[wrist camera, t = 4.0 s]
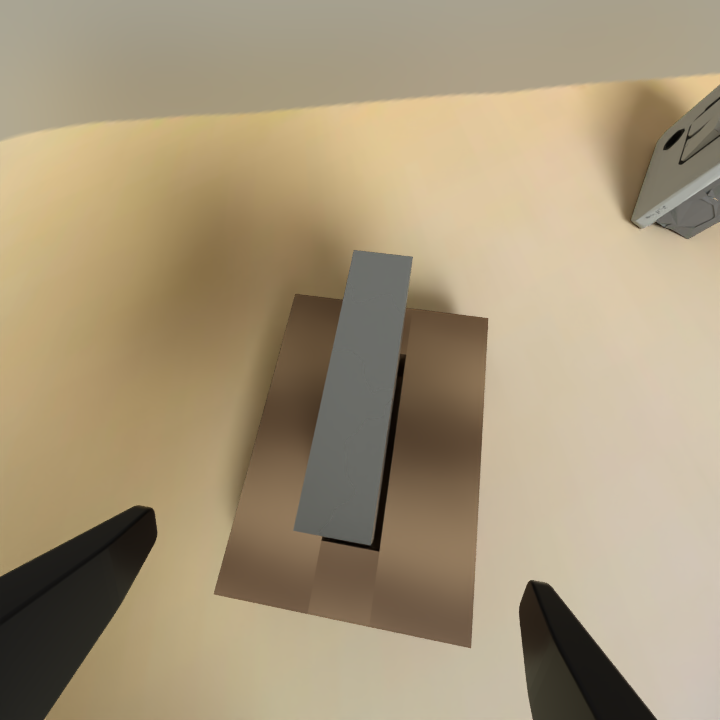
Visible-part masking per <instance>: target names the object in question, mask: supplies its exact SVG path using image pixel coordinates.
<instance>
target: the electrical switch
mask: <svg viewBox="0 0 720 720" xmlns="http://www.w3.org/2000/svg"><path fill="white" fill-rule="evenodd" d="M713 198H716V199H717V200H718V201H717V200H715V199H713ZM631 221H632V222H633V223H634V224H636V225H637V226H638V227H640V229H642V228H645V227H647V226H649V225H652V224H653V223H655V222H657V223H659V224H660V225H662V226H663V227H665V228H668V229H671V230H673V231H675V232H677V233H678V234H680V235H682V236H683V237H685V238H686V239H689V238H691V237H693V236H695V235H696V234H698V233H700V232H702V231H704V230H705V229H707V228H709V227H711V226H712V225H714V224H716V223H718V222H720V85H719V86H718V87H717V88H715V89H714V90H713V91H712V92H711V93H710V94H708V95H707V96H706V97H705V98H704V99H703V100H701V101H700V102H699V103H698V104H697V105H696V106H695V107H693V108H692V109H691V110H690V111H689V112H688V113H686V114H685V115H684V116H683V117H682V118H681V119H680V120H678V121H677V122H676V123H675V124H674V125H673V126H672V127H670V128H669V129H668V130H667V131H666V132H665V133H664V134H663V135H662V137H661V138H660V139H659V140H658V141H657V144H656V147H655V150H654V152H653V155H652V158H651V161H650V164H649V167H648V170H647V173H646V176H645V179H644V182H643V185H642V188H641V191H640V194H639V197H638V200H637V203H636V206H635V209H634V212H633V215H632V218H631Z"/></svg>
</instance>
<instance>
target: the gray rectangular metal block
mask: <svg viewBox="0 0 720 720" xmlns="http://www.w3.org/2000/svg"><path fill="white" fill-rule="evenodd" d="M412 258H413V257H410V256H401V255H392V254H383V253H374V252H366V251H357V250H354V252H353V257H352V261H351V266H350V270H349V275H348V280H347V284H346V289H345V293H344V298H343V303H342V307H341V312H340V317H339V321H338V326H337V330H336V335H335V340H334V344H333V349H332V353H331V358H330V363H329V367H328V372H327V377H326V381H325V386H324V390H323V395H322V400H321V404H320V409H319V413H318V418H317V423H316V427H315V432H314V437H313V441H312V446H311V450H310V455H309V460H308V464H307V469H306V473H305V478H304V483H303V487H302V492H301V497H300V501H299V506H298V510H297V515H296V520H295V524H294V529H293V531H297V532H302V533H307V534H313V535H318V536H323V537H329V538H334V539H339V540H345V541H350V542H355V543H360V544H366V545H371V544H372V542H373V540H374V536H375V529H376V522H377V515H378V508H379V501H380V494H381V487H382V480H383V473H384V466H385V459H386V452H387V445H388V438H389V431H390V424H391V417H392V410H393V403H394V396H395V389H396V382H397V374H398V367H399V359H400V351H401V344H402V336H403V328H404V320H405V313H406V305H407V297H408V289H409V282H410V274H411V266H412Z"/></svg>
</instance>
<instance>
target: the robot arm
mask: <svg viewBox="0 0 720 720" xmlns="http://www.w3.org/2000/svg"><path fill="white" fill-rule="evenodd" d="M156 538H157V526H156V519H155V512H154V510H153V508H151V507H145V506H140V505H137V506H134V507H132V508H130V509H128V510H126V511H124V512H122V513H120V514H118V515H116V516H114V517H113V518H111V519H109V520H107V521H105V522H103V523H101V524H99V525H97V526H96V527H94V528H92V529H90V530H88V531H86V532H84V533H82V534H80V535H78V536H77V537H75V538H73V539H71V540H69V541H67V542H65V543H63V544H61V545H59V546H58V547H56V548H54V549H52V550H50V551H48V552H46V553H44V554H42V555H40V556H39V557H37V558H35V559H33V560H31V561H29V562H27V563H25V564H23V565H22V566H20V567H18V568H16V569H14V570H12V571H10V572H8V573H6V574H4V575H3V576H1V577H0V720H44V719H45V717H46V716H47V714H48V713H49V711H50V710H51V708H52V707H53V705H54V704H55V702H56V701H57V699H58V698H59V696H60V695H61V693H62V692H63V690H64V689H65V687H66V686H67V684H68V683H69V681H70V680H71V678H72V677H73V675H74V674H75V672H76V671H77V669H78V668H79V666H80V665H81V663H82V662H83V661H84V659H85V658H86V656H87V655H88V653H89V652H90V650H91V649H92V647H93V646H94V644H95V643H96V641H97V640H98V638H99V637H100V635H101V634H102V632H103V631H104V629H105V628H106V626H107V625H108V623H109V622H110V620H111V619H112V617H113V616H114V614H115V613H116V611H117V610H118V608H119V606H120V605H121V603H122V601H123V600H124V598H125V596H126V595H127V593H128V591H129V589H130V587H131V585H132V584H133V582H134V580H135V578H136V576H137V574H138V573H139V571H140V569H141V567H142V565H143V563H144V562H145V560H146V558H147V556H148V554H149V553H150V551H151V549H152V547H153V545H154V543H155V541H156ZM519 618H520V627H521V637H522V646H523V655H524V664H525V673H526V682H527V690H528V697H529V702H530V708H531V712H532V717H533V720H657V719H656V717H655V716H654V715H653V714H652V712H651V711H650V710H649V709H648V707H647V706H646V705H645V704H644V702H643V701H642V700H641V699H640V697H639V696H638V695H637V694H636V692H635V691H634V690H633V688H632V687H631V686H630V685H629V683H628V682H627V681H626V680H625V678H624V677H623V676H622V675H621V673H620V672H619V671H618V670H617V668H616V667H615V666H614V665H613V663H612V662H611V661H610V660H609V658H608V657H607V656H606V654H605V653H604V652H603V651H602V649H601V648H600V647H599V646H598V644H597V643H596V642H595V641H594V639H593V638H592V637H591V636H590V634H589V633H588V632H587V631H586V629H585V628H584V627H583V626H582V624H581V623H580V622H579V620H578V619H577V618H576V617H575V615H574V614H573V613H572V612H571V610H570V609H569V608H568V607H567V605H566V604H565V603H564V602H563V600H562V599H561V598H560V597H559V595H558V594H557V593H556V592H555V590H554V589H553V588H552V587H551V586H550V585H549V584H548V583H545V582H540V581H534V580H530V581H529V582H528V584H527V586H526V589H525V591H524V594H523V597H522V600H521V603H520V607H519Z"/></svg>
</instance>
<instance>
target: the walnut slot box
mask: <svg viewBox="0 0 720 720" xmlns="http://www.w3.org/2000/svg"><path fill="white" fill-rule="evenodd" d="M342 303H343V300H340V299H332V298H324V297H316V296H308V295H300V294H295V297H294V301H293V305H292V308H291V312H290V316H289V319H288V323H287V327H286V330H285V334H284V338H283V341H282V345H281V349H280V352H279V356H278V360H277V364H276V367H275V371H274V375H273V378H272V382H271V386H270V389H269V393H268V397H267V400H266V404H265V408H264V411H263V415H262V419H261V422H260V426H259V430H258V433H257V437H256V441H255V444H254V448H253V452H252V455H251V459H250V463H249V466H248V470H247V474H246V477H245V481H244V485H243V488H242V492H241V496H240V499H239V503H238V507H237V510H236V514H235V518H234V521H233V525H232V529H231V533H230V536H229V540H228V544H227V547H226V551H225V555H224V558H223V562H222V566H221V569H220V573H219V577H218V580H217V584H216V588H215V591H214V594H215V595H220V596H225V597H229V598H234V599H239V600H244V601H249V602H253V603H258V604H263V605H268V606H272V607H277V608H282V609H287V610H291V611H296V612H301V613H306V614H310V615H315V616H320V617H325V618H330V619H334V620H339V621H344V622H349V623H353V624H358V625H363V626H368V627H372V628H377V629H382V630H387V631H392V632H396V633H401V634H406V635H411V636H415V637H420V638H425V639H430V640H434V641H439V642H444V643H449V644H453V645H458V646H463V647H468V648H471V638H472V619H473V600H474V581H475V562H476V543H477V523H478V504H479V485H480V466H481V447H482V427H483V408H484V389H485V370H486V351H487V332H488V318H482V317H474V316H466V315H458V314H450V313H442V312H435V311H427V310H419V309H411V308H406V313H405V320H404V328H403V336H402V344H401V351H400V359H399V367H398V374H397V382H396V389H395V396H394V403H393V410H392V417H391V424H390V431H389V438H388V445H387V452H386V459H385V466H384V473H383V480H382V487H381V494H380V501H379V508H378V515H377V522H376V529H375V536H374V540H373V542H372V544H371V545H366V544H360V543H355V542H350V541H345V540H339V539H334V538H329V537H323V536H318V535H313V534H307V533H302V532H297V531H293V529H294V524H295V520H296V515H297V510H298V506H299V501H300V497H301V492H302V487H303V483H304V478H305V473H306V469H307V464H308V460H309V455H310V450H311V446H312V441H313V437H314V432H315V427H316V423H317V418H318V413H319V409H320V404H321V400H322V395H323V390H324V386H325V381H326V377H327V372H328V367H329V363H330V358H331V353H332V349H333V344H334V340H335V335H336V330H337V326H338V321H339V317H340V312H341V307H342Z"/></svg>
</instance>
